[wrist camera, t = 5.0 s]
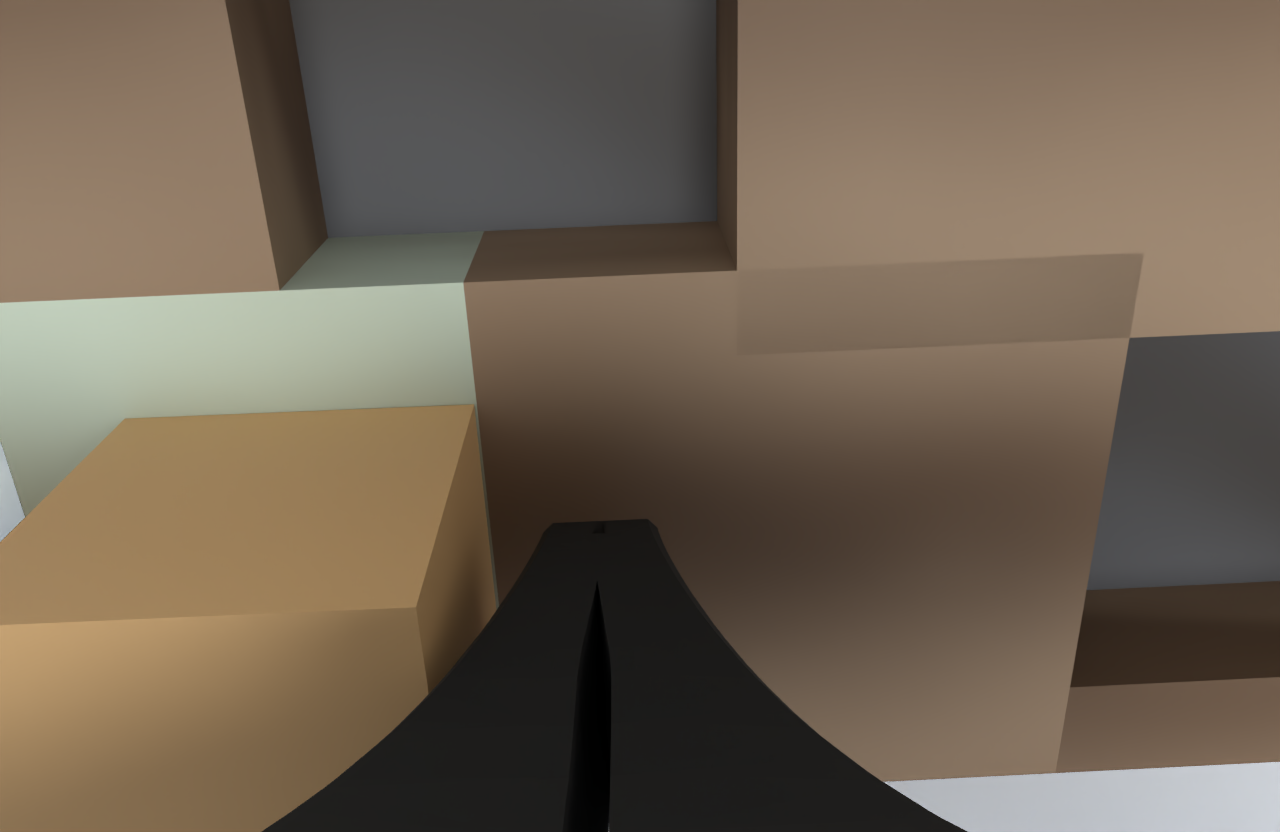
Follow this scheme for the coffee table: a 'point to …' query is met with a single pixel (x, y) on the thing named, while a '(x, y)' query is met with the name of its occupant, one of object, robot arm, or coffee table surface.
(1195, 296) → the trap board
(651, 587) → the robot arm
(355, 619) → the block
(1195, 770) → the coffee table surface
